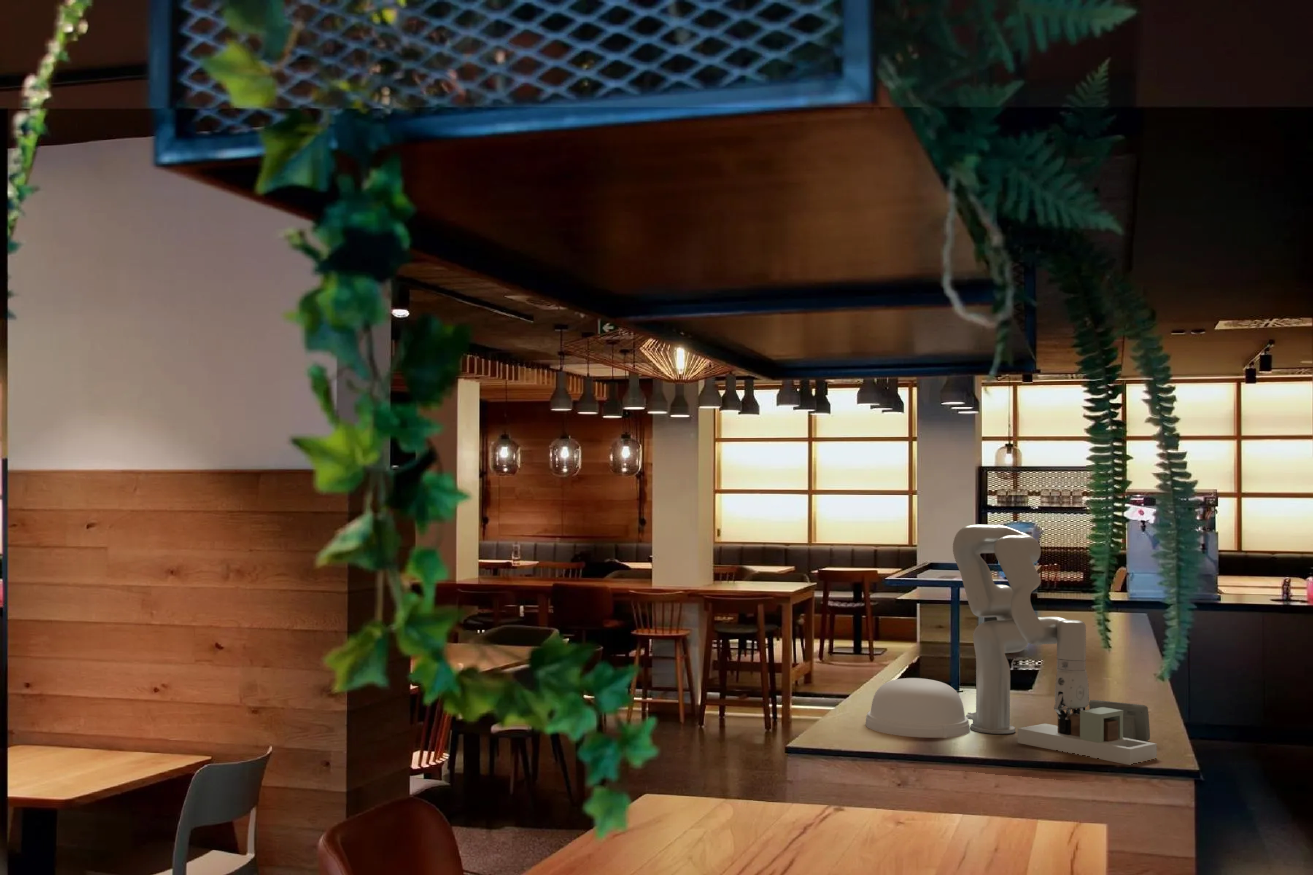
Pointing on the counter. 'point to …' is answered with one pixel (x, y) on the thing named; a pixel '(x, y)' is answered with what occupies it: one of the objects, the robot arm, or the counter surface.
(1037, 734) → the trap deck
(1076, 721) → the walnut bar
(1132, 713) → the digital clock
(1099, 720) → the tunnel
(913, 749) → the counter surface
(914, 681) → the dome cover
